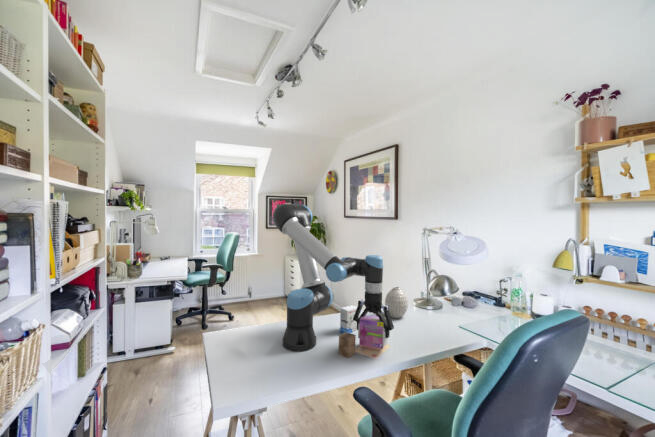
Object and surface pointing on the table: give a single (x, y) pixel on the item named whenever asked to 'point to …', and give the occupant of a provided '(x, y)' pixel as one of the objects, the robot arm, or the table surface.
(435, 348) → the table surface
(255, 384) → the table surface
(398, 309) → the vase
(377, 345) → the box
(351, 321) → the ink box
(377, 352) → the letter
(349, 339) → the block
